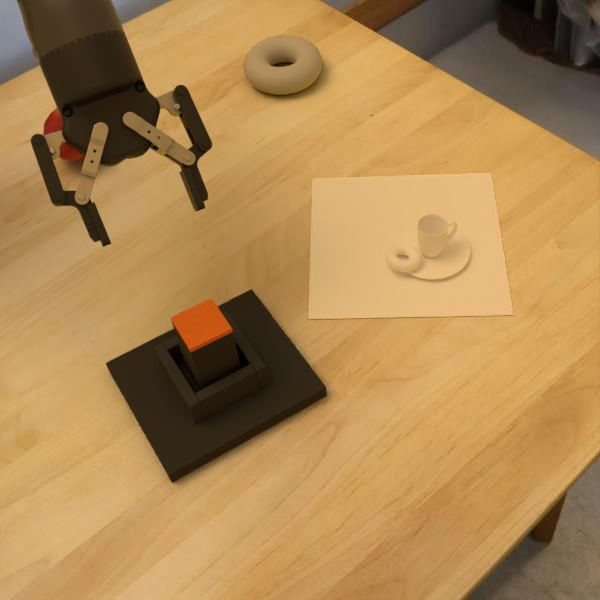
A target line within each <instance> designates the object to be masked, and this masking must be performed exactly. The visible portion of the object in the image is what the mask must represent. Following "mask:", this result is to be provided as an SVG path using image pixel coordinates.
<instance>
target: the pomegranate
mask: <svg viewBox="0 0 600 600" xmlns="http://www.w3.org/2000/svg"><path fill="white" fill-rule="evenodd" d="M62 126H63V123H62V118H61V116H60V113H59V111H58V108H57V107H56V108H54V110H52V111H51V112H50V113H49V115H48V117H47V118H46V119H45V121H44V123H43V134H42V135H46V134H50V133H53V132H57V131H61V130H62ZM84 157H86V156H85V155H83V154H81V153H80V152H78V151H77V150H75V149H74V148H72V147H71V146H69V145H68V144H67V143H66V142H64V143H63V144H61V146H60V156H59V158H58V159H61V160H65V161H71V162H72V161H76V162H78V161H81V160H82V159H84Z"/></svg>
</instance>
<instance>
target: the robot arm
mask: <svg viewBox="0 0 600 600" xmlns="http://www.w3.org/2000/svg"><path fill="white" fill-rule="evenodd" d="M16 2H17V3H16V4H17V5H18V8H19V12H20V14H21V19H22V22H23V26H24V30H25V33H26V36H27V38H28V40H29V42H30V43H29V44H30V46H31V49H32V53H33V56H34V58H35V59H36V60H37V62H38V64H39V67H40V69H41V72H42V74H43V77H44V79H45V82H46V85H47V86H48V89H49V91H50V94H51V97H52V98H53V101H54V104H55V106H56V108H58V111H59V113H60V116H61V118H62V123H63V126H62V130H61V131H57V132H53V133H50V134H46V135H43V134H41V133H35V134H33V135H32V136H31V138H30V144H31V147H32V150H33V154H34V156H35V159H36V162H37V165H38V167H39V170H40V173H41V176H42V179H43V182H44V185H45V187H46V191H47V193H48V196H49V199H50V202H51V204H52V205H53V206H54V207H59V208H60V207H72V208H75V209H76V210H77V211H78V212H79V215H80V217H81V220H82V222H83V224H84V227H85V229H86V231H87V234H88V237H89V238H90V240H91V241H93V243H97V242H100V244H101V246H102V248H104V247H107V246H110V245H112V241H111V239H110V236H109V234H108V232H107V229H106V226H105V224H104V222H103V219H102V216H101V215H100V212H99V210H98V208H97V207H98V206H97V205H96V203H95V201H92V199H91V195H92V191H93V188H94V185H95V180H96V177H97V173H98V169H99V166H101V167H107V168H108V167H109V168H113V167H115V166H117V165H119V164H121V163H122V162H124V161H125V160H128V159H136V158H140V157H143V156H144V155H145V154H146V153H147V152H148V151H149V150H150V149H151V150H152V151H153V152H154V153H157V154H158V155H160V156H162V157H164V158H166V159H168V160H169V161H171V162H172V163H174V164H176V165H177V166H178V167H179V168H180V171H179V172H178V173H179V176H180V178H181V181H182V183H183V185H184V189H185V191H186V193H187V196H188V198H189V200H190V203H191V206H192V209H193V210H194V212H195V213H196V212H199V211H202V210H204V209H206V205H205V201H209V192H208V190H207V187H206V184H205V183H204V182H205V181H204V180H203V177H202V174H201V171H200V169H199V166H198V163H199V160H200V159H201V158H202V157H203V156H205V154H206V153H208V152H209V151H211V149H212V148H213V141H212V139H211V138H210V135H209V133H208V130H207V128H206V126H205V124H204V121H203V119H202V117H201V115H200V113H199V111H198V108H197V107H196V104H195V102H194V100H193V97H192V95H191V93H190V91H189V89H188V87H187V86H185V84H184V85H183V84H177V85H176V86H175V87H174V88H173V90H170V91H167V92H166V93H163V94H161V95H159V96H154V95H153V94H152V93H151V92H150V90H149V89H148V88H147V86H146V82H145V80H144V78H143V75H142V73H141V70H140V68H139V65H138V62H137V60H136V58H135V55H134V52H133V50H132V47H131V44H130V42H129V39H128V38H127V35H126V32H125V30H124V28H123V25H122V22H121V20H120V17H119V15H118V13H117V9H116V7H115V4H114V3H113V0H16ZM162 109H163V110H166V111H167V112H168V113H169V114H170V116H172V117H179V119H180V121H181V124H182V126H183V128H184V130H185V133H186V134H187V137H188V139H189V141H190V142H191V146H190V147H189V148H186V147H185V146H183V145H182V144H180V143H178V142H177V141H175V139H174V138H173V137H171V136H170V135H168V134H167V133H165V132H163V131H162V130H160V129H159V128H157V125H158V122H159V117H160V113H161V110H162ZM64 142H66V143H67V144H68V145H69V146H71V147H72V148H74V149H75V150H77V151H78V152H80V153H81V154H83V155H85V156H84V157H85V158H84V160H83V163H82V168H81V171H80V175H79V178H78V183H77V186H76V189H75V190H65V189H64V188H63V185H62V181H61V179H60V175H59V174H58V170H57V167H56V164H55V160H58V159H60V158H59V156H60V146H61V144H63V143H64Z"/></svg>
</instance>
